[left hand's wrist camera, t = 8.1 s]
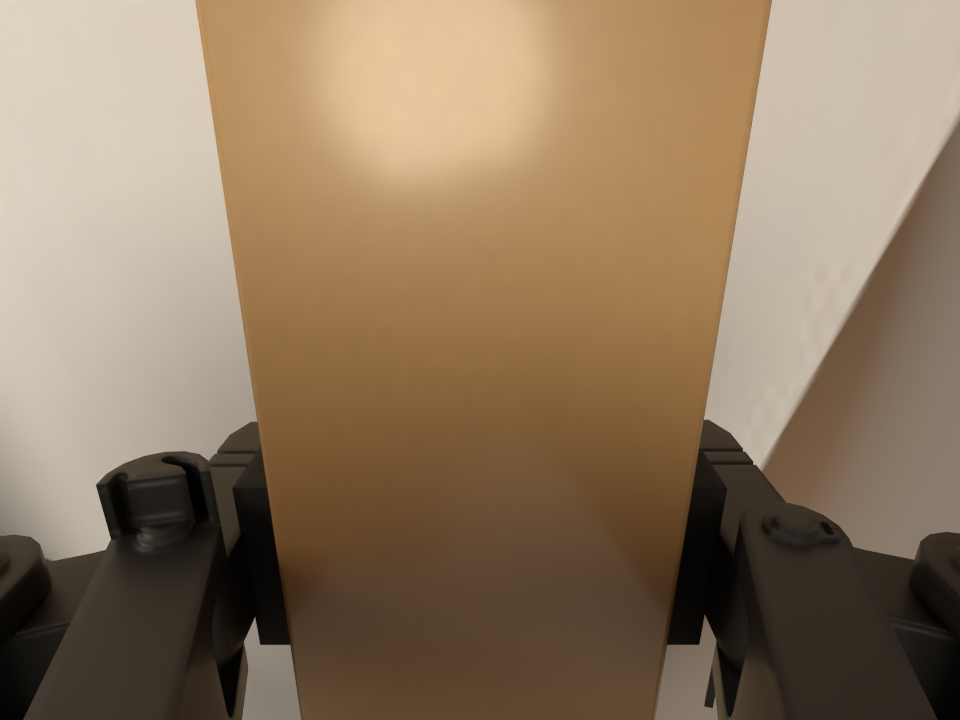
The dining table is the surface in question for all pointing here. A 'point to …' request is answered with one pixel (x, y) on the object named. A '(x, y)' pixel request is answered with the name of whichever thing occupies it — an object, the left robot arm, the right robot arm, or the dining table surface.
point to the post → (481, 331)
